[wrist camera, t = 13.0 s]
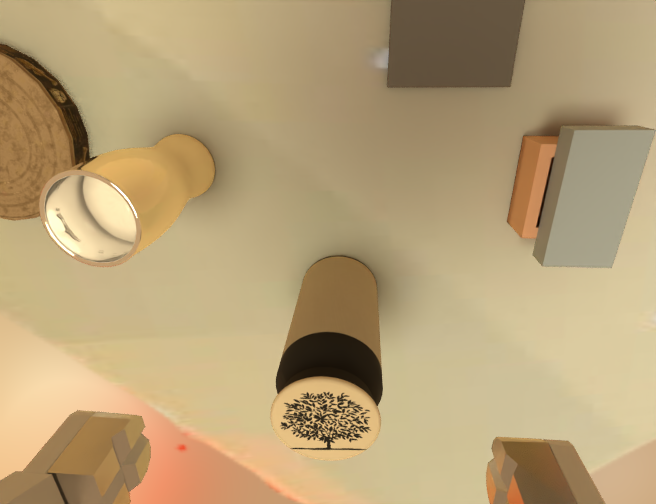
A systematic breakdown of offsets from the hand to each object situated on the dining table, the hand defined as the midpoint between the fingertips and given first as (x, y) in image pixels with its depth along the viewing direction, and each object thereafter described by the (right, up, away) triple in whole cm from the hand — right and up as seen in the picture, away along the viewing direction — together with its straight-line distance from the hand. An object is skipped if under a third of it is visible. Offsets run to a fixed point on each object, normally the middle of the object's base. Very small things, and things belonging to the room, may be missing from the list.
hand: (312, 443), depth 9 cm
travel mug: (+2, +1, +34) cm, 34 cm away
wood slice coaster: (-30, +16, +30) cm, 46 cm away
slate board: (+21, +9, +24) cm, 33 cm away
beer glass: (-13, +13, +30) cm, 35 cm away
